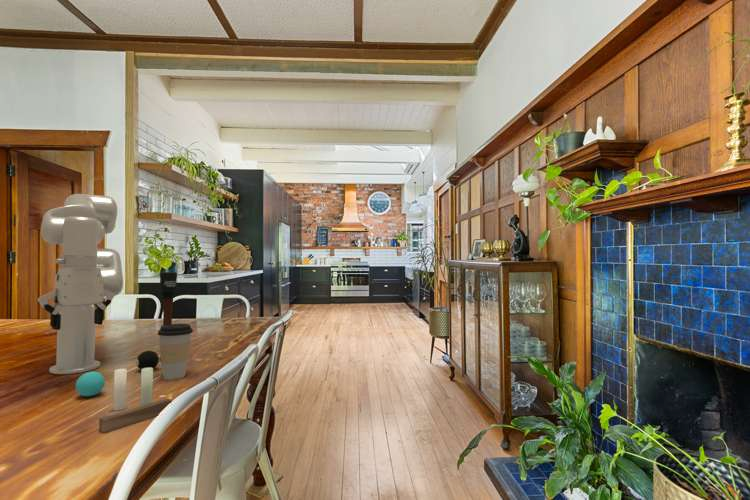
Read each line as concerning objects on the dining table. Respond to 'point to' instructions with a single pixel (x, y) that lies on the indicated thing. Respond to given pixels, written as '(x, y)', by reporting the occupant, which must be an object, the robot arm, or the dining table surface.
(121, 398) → the cream pin
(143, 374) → the sage pin
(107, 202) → the robot arm
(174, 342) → the coffee cup
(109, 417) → the walnut rail
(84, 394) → the ball
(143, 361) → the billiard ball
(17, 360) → the dining table surface
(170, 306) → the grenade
